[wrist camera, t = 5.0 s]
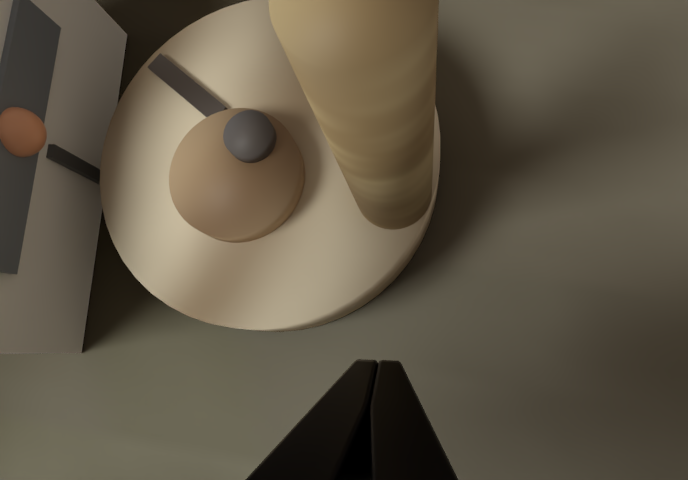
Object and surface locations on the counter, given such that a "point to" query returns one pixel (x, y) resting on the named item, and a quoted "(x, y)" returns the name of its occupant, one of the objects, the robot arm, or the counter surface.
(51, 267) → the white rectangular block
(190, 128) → the cam dial
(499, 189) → the counter surface
